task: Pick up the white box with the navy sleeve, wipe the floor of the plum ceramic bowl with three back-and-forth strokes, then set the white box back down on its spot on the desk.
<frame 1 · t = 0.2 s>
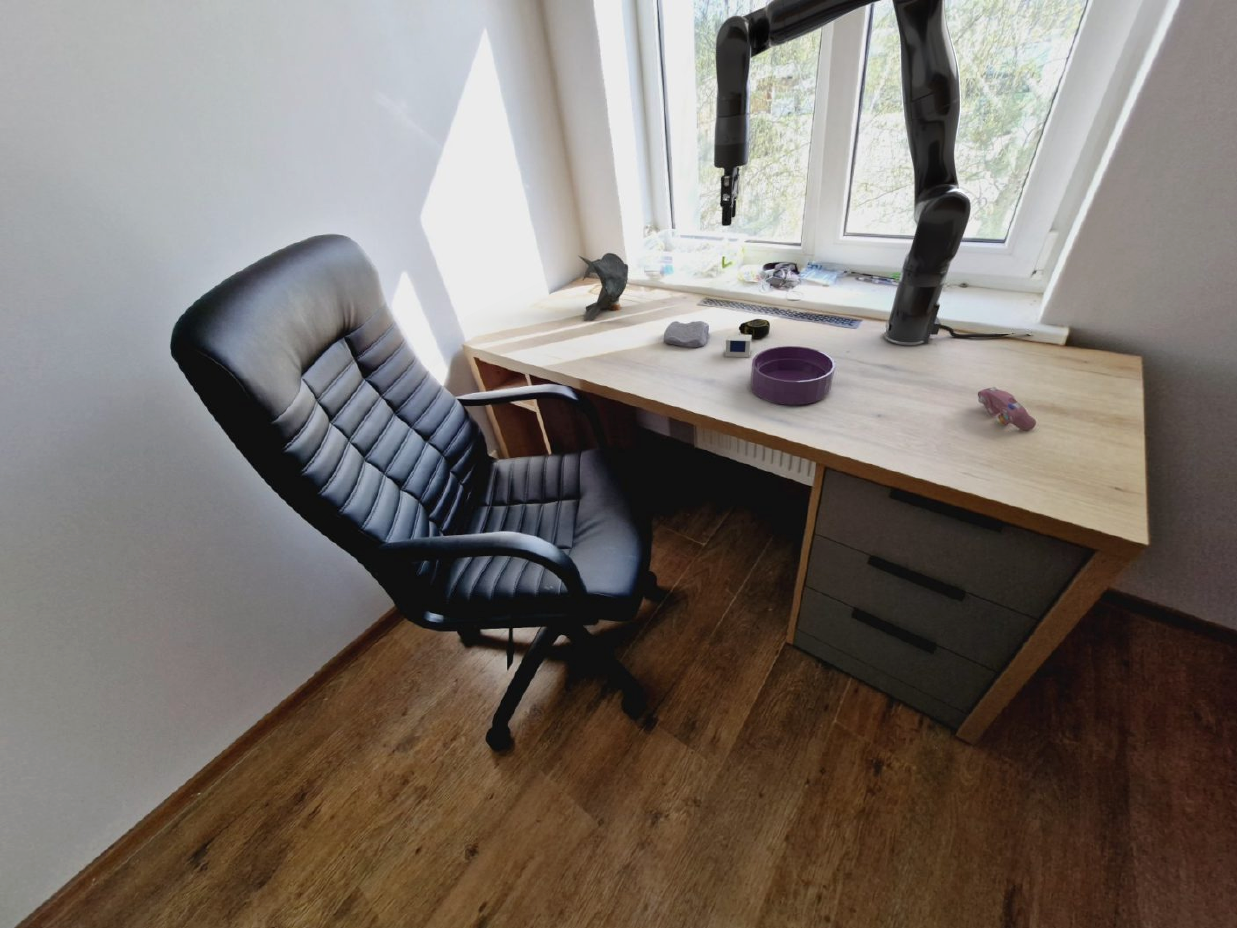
hand: (728, 221, 113), 29 cm above the table, tool pointing down, fingers open, 8 cm apart
dark grey bird-shaped figure: (608, 311, 155), on the table
white box: (737, 353, 121), on the table
tape measure: (753, 335, 129), on the table
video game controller: (999, 420, 88), on the table
stone block: (685, 341, 131), on the table
bowl: (789, 387, 105), on the table
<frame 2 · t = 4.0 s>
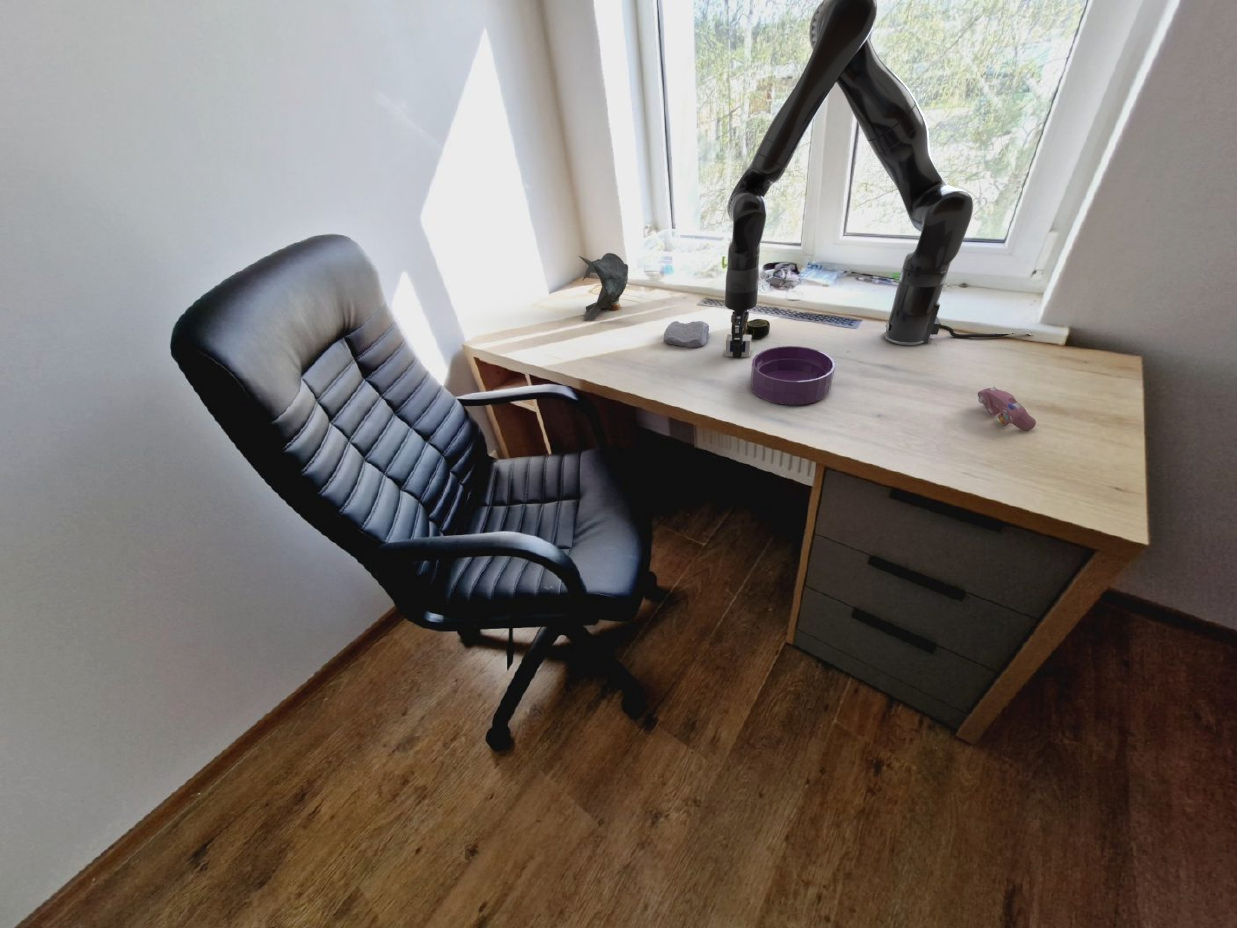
hand: (737, 353, 121), 0 cm above the table, tool pointing down, fingers closed on white box, 3 cm apart
white box: (737, 353, 121), on the table, touching gripper
everything else where it was.
when the fingers open (0 cm above the table, at t = 19.1 s): white box stays where it is, on the table.
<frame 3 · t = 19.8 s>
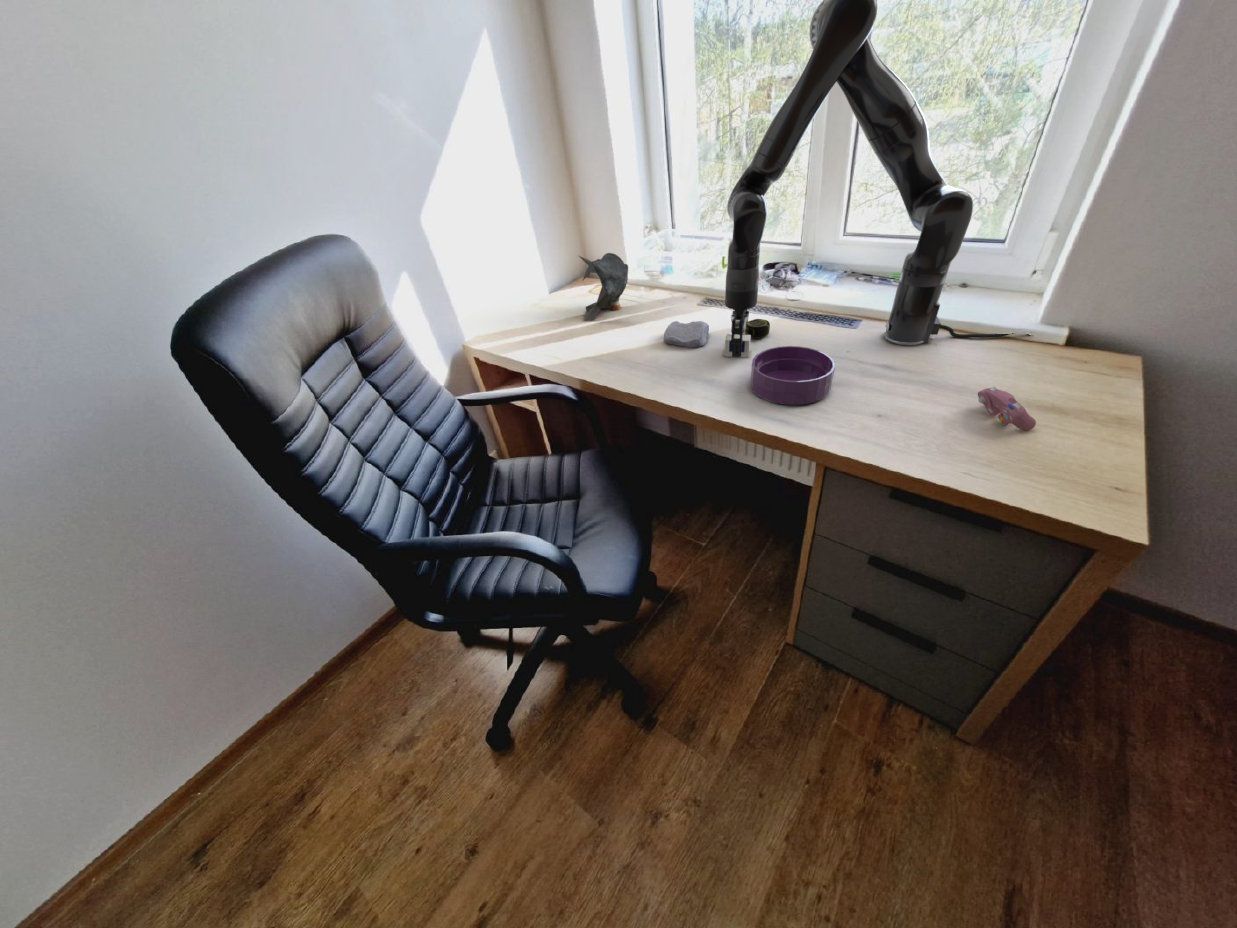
hand: (738, 349, 120), 1 cm above the table, tool pointing down, fingers open, 8 cm apart
white box: (737, 353, 121), on the table
everything else where it was.
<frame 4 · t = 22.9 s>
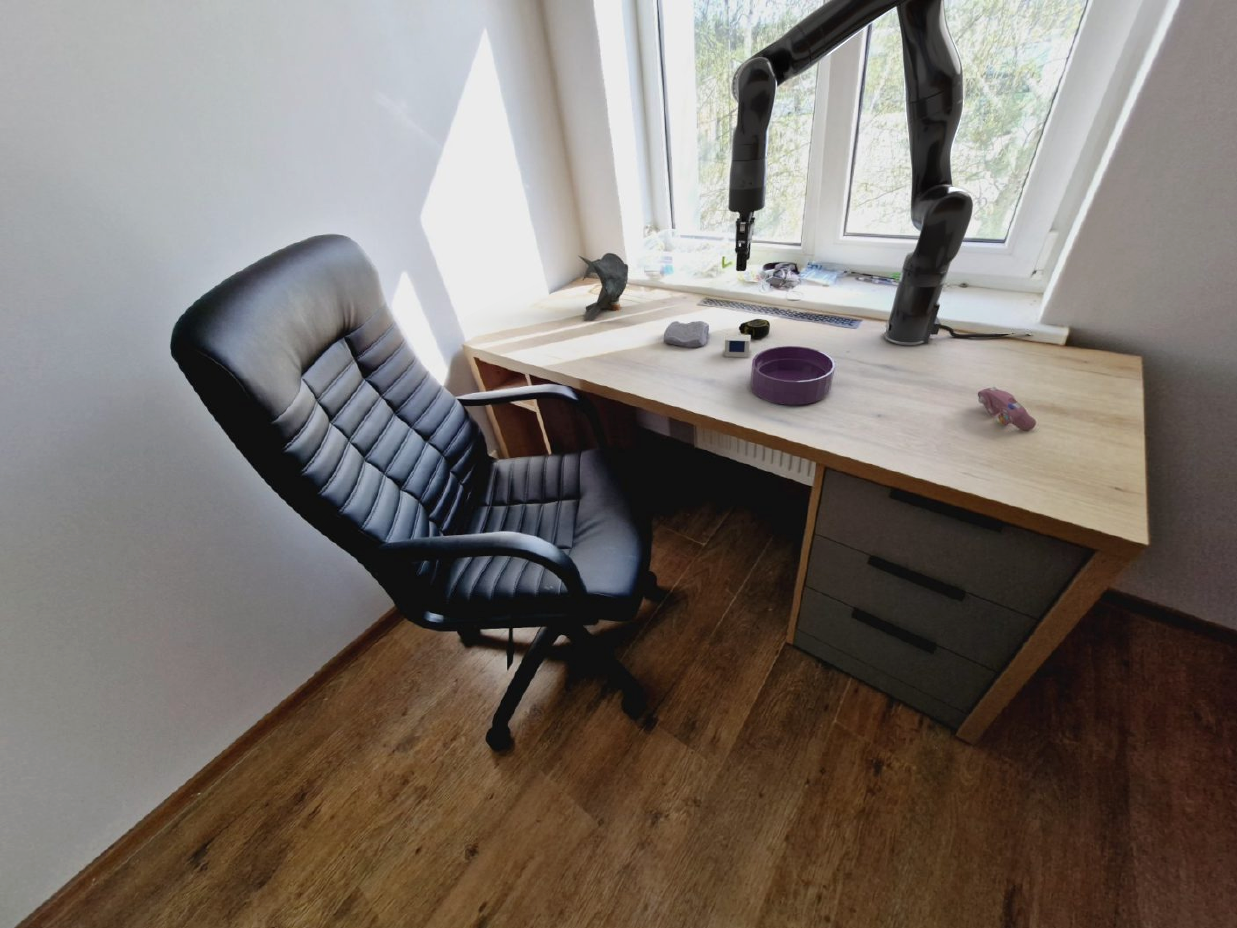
hand: (742, 265, 107), 22 cm above the table, tool pointing down, fingers open, 8 cm apart
nothing on the table moved.
at the end: white box 0.2 cm from the target spot, on the table; white box tilted 0°; the gripper is holding nothing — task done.
